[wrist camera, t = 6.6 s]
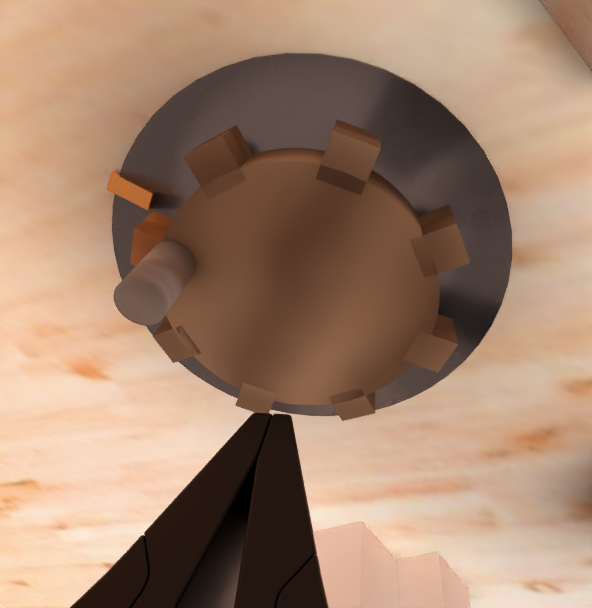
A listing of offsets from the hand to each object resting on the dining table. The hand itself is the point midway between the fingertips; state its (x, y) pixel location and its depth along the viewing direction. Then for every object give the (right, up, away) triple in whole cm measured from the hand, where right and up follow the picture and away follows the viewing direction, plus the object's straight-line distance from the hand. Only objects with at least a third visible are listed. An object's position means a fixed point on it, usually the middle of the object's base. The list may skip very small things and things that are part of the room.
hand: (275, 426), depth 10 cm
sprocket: (+1, +4, +12) cm, 13 cm away
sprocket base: (+1, +4, +12) cm, 13 cm away
